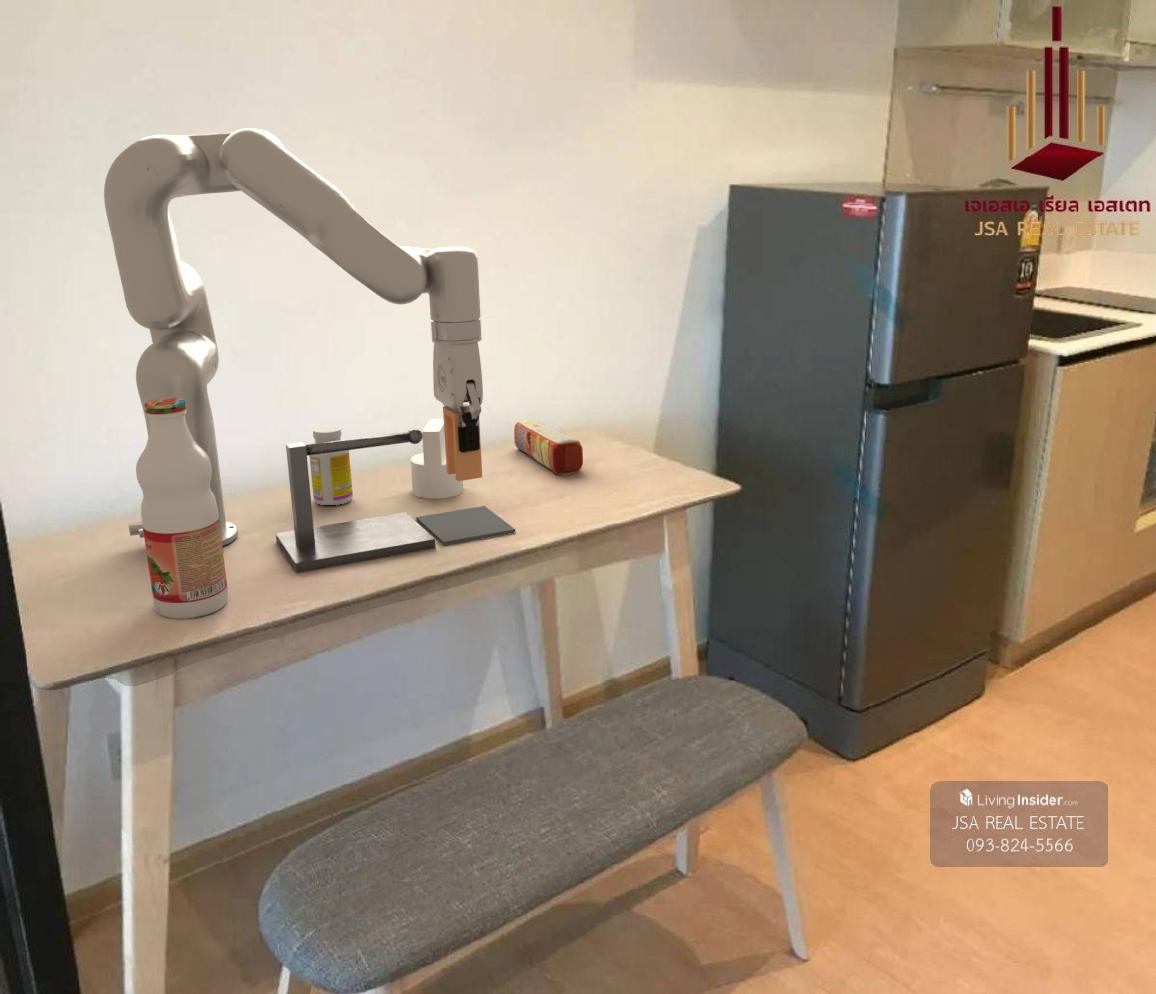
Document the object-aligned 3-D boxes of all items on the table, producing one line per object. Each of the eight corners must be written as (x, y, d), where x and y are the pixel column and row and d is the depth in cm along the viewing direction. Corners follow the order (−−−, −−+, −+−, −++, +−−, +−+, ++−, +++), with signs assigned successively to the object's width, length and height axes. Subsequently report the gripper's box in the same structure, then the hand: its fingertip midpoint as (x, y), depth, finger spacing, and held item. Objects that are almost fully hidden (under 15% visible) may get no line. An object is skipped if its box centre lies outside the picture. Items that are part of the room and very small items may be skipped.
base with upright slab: (460, 498, 184) (456, 431, 181) (408, 498, 185) (404, 431, 181) (466, 482, 193) (463, 418, 189) (417, 483, 193) (413, 419, 189)
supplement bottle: (358, 495, 187) (352, 424, 183) (346, 507, 180) (340, 434, 176) (321, 494, 187) (314, 424, 183) (308, 506, 181) (301, 433, 177)
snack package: (511, 450, 214) (511, 417, 212) (542, 446, 217) (541, 414, 215) (552, 478, 196) (552, 442, 194) (585, 473, 199) (585, 438, 196)
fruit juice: (220, 618, 138) (194, 409, 129) (146, 622, 137) (114, 411, 129) (235, 590, 147) (211, 392, 138) (165, 593, 146) (137, 394, 137)
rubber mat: (443, 545, 163) (443, 541, 163) (416, 520, 174) (416, 516, 174) (515, 532, 168) (515, 529, 168) (484, 509, 179) (484, 505, 179)
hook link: (458, 481, 165) (454, 413, 162) (446, 472, 169) (442, 406, 166) (482, 477, 167) (478, 410, 163) (470, 469, 171) (466, 403, 168)
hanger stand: (296, 572, 153) (285, 458, 147) (276, 542, 165) (265, 435, 159) (442, 546, 162) (436, 438, 157) (413, 519, 174) (407, 417, 169)
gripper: (414, 325, 167) (422, 437, 172) (452, 341, 152) (459, 463, 158) (459, 321, 170) (465, 431, 175) (501, 336, 155) (505, 456, 161)
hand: (462, 445), depth 167 cm, fingers closed on hook link, 5 cm apart
